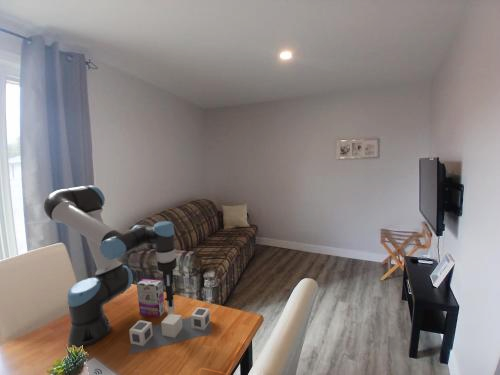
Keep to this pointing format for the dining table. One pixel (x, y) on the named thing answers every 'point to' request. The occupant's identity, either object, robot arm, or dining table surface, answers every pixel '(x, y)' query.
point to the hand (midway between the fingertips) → (171, 311)
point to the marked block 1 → (141, 332)
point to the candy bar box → (151, 297)
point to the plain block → (171, 325)
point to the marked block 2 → (200, 318)
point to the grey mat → (162, 340)
